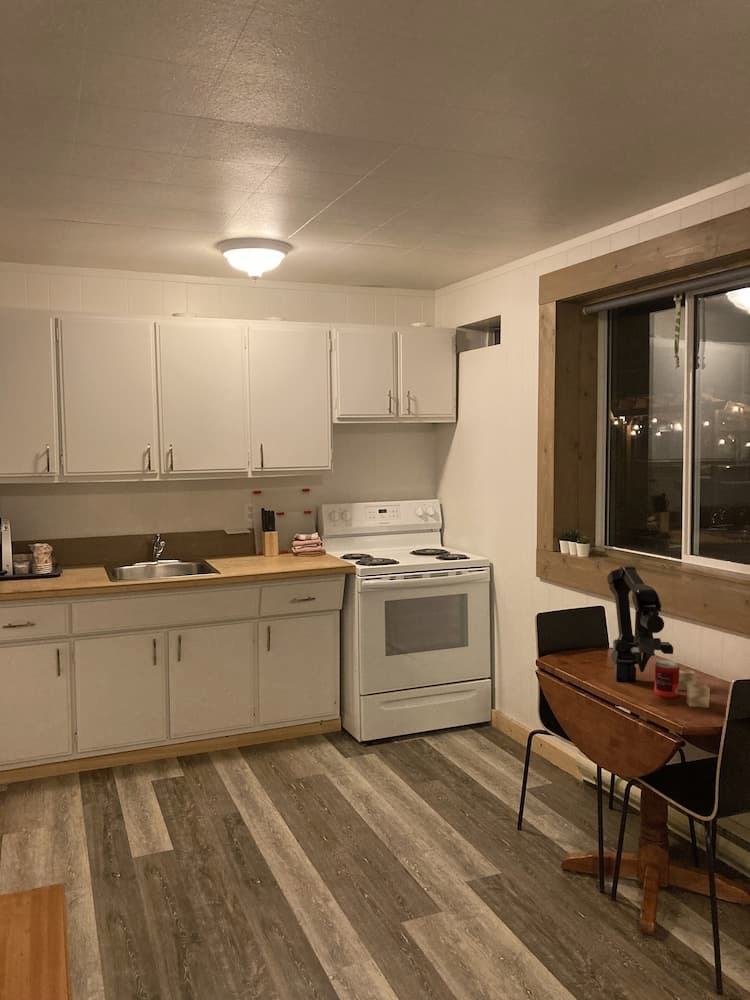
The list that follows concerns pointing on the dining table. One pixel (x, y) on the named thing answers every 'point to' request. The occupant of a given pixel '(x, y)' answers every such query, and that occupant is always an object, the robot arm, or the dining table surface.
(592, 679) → the dining table surface
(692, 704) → the beech block
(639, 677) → the dining table surface
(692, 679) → the grey-green block
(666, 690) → the canned food
